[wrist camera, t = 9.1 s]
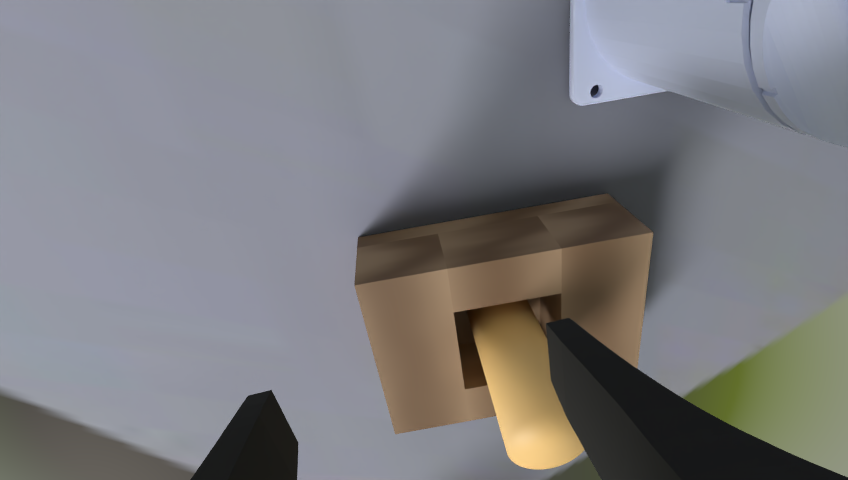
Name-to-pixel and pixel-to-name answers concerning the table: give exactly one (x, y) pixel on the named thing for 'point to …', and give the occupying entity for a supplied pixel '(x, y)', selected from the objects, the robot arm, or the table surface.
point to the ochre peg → (523, 386)
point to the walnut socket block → (494, 296)
